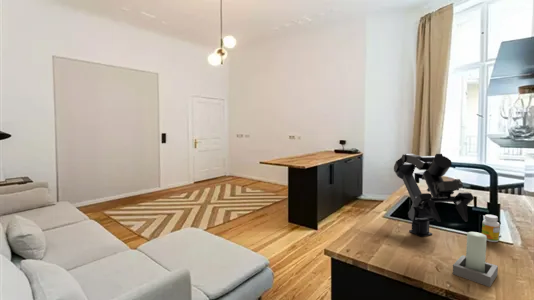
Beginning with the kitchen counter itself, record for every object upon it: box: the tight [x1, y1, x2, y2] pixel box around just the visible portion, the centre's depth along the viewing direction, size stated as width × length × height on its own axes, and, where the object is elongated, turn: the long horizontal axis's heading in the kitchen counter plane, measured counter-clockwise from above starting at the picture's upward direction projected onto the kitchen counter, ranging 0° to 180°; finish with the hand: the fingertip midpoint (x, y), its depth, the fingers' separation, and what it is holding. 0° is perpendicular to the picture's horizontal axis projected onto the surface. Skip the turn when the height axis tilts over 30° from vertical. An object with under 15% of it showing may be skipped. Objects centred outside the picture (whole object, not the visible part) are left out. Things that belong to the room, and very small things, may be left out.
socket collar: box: [452, 254, 499, 288], centre depth 86 cm, size 9×9×3 cm
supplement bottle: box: [481, 214, 501, 243], centre depth 109 cm, size 5×5×10 cm
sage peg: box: [465, 231, 487, 274], centre depth 85 cm, size 5×5×13 cm
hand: (453, 221), depth 94 cm, fingers open, 9 cm apart
